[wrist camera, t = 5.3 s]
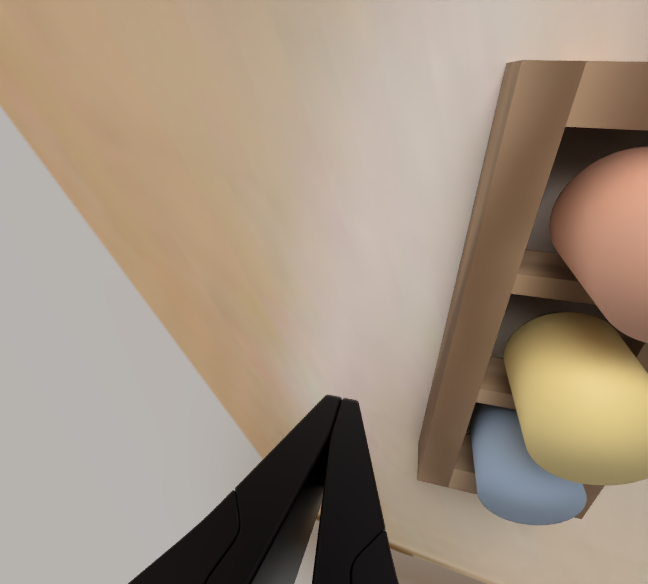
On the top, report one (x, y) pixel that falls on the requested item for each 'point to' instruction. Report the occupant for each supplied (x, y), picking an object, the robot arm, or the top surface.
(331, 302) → the top surface
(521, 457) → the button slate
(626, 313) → the salmon rounded lump
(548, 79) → the wooden compartment tray
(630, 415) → the button ochre
